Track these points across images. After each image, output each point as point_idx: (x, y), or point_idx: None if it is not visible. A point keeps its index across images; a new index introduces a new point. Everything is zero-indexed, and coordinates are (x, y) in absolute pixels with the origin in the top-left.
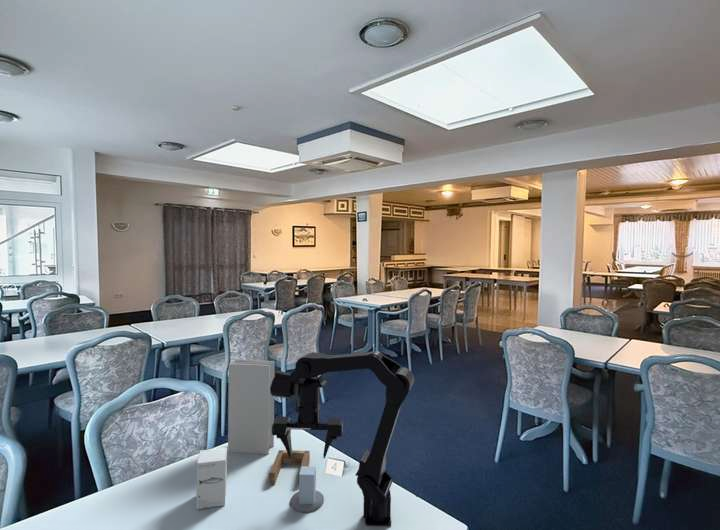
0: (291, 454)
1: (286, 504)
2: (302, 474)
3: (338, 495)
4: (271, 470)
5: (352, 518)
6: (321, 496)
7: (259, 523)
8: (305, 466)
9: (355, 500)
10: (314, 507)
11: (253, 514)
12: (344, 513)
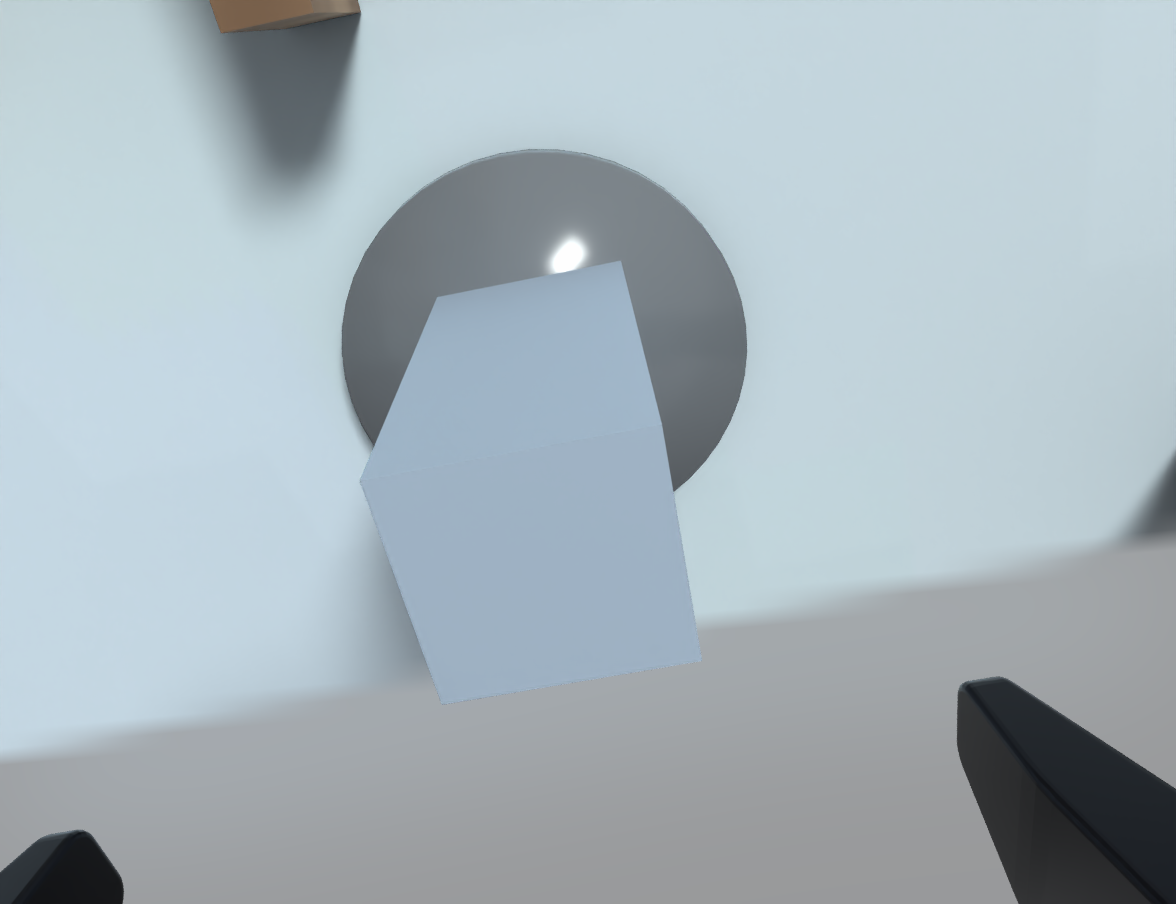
0: (72, 889)
1: (338, 447)
2: (493, 694)
3: (910, 149)
4: None
5: (1075, 495)
6: (704, 272)
7: (243, 710)
8: (441, 469)
9: (1133, 204)
10: (672, 477)
11: (112, 635)
12: (993, 447)
